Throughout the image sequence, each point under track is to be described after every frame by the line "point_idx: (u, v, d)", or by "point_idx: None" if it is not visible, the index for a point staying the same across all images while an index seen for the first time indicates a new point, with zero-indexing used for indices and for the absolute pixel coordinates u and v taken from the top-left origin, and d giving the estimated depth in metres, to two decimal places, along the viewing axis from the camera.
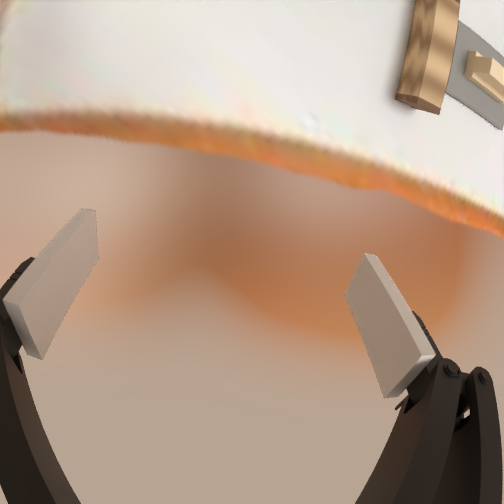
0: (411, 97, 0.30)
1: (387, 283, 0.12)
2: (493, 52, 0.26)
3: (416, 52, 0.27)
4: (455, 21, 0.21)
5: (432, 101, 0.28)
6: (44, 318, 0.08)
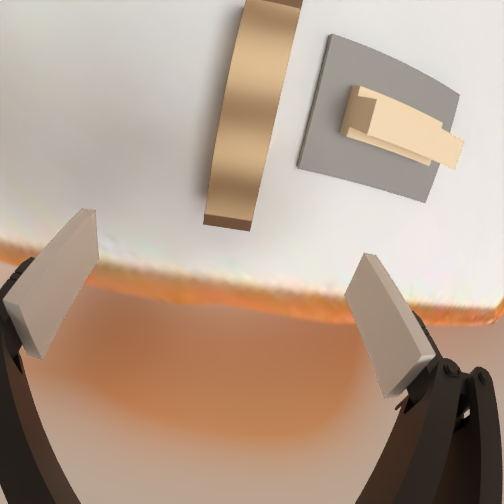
0: None
1: (387, 283, 0.12)
2: (411, 76, 0.22)
3: None
4: (284, 49, 0.17)
5: (232, 214, 0.24)
6: (44, 318, 0.08)
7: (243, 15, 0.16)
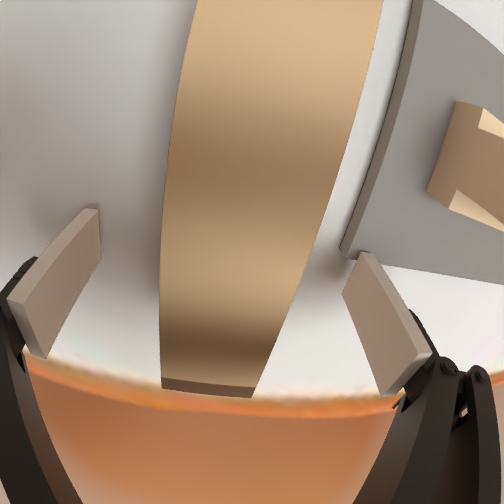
0: None
1: (384, 281, 0.12)
2: None
3: None
4: None
5: (217, 380, 0.11)
6: (48, 317, 0.08)
7: None
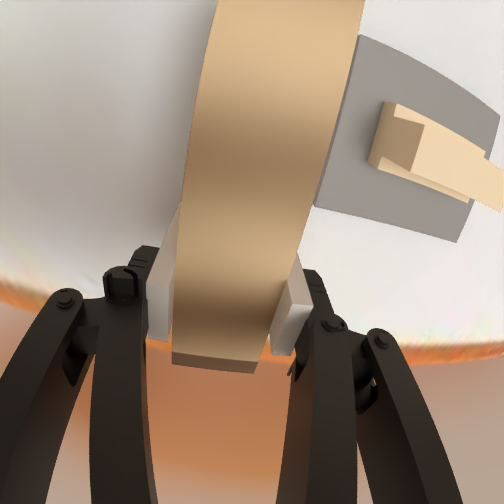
0: None
1: None
2: (452, 92, 0.17)
3: None
4: (348, 8, 0.06)
5: (223, 354, 0.13)
6: None
7: None
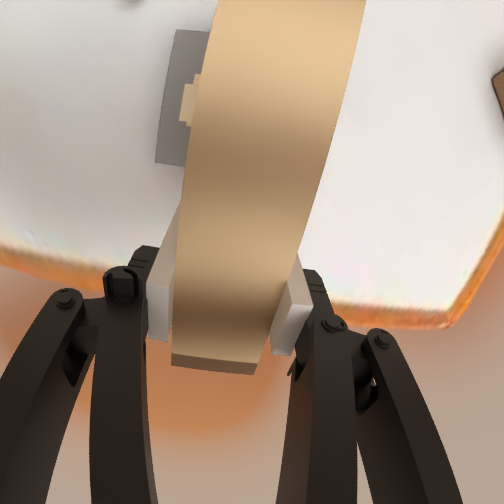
0: None
1: None
2: None
3: None
4: (348, 8, 0.06)
5: (223, 355, 0.13)
6: None
7: None
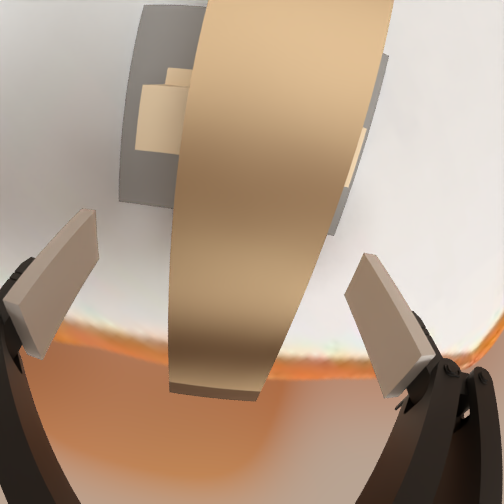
0: None
1: (387, 283, 0.12)
2: None
3: None
4: (375, 1, 0.04)
5: (223, 385, 0.12)
6: (44, 318, 0.08)
7: None
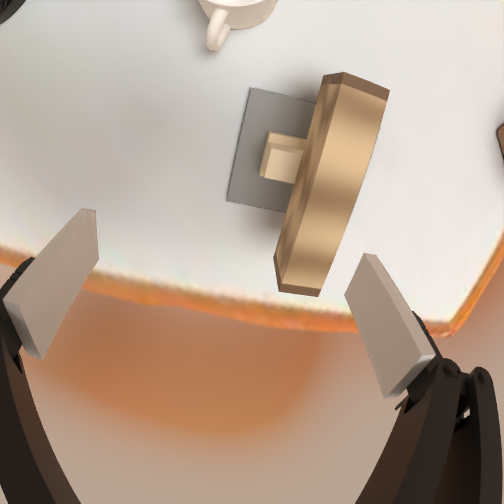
0: (278, 275, 0.29)
1: (387, 283, 0.12)
2: None
3: (296, 202, 0.26)
4: (369, 142, 0.20)
5: (306, 284, 0.27)
6: (44, 318, 0.08)
7: (337, 103, 0.19)
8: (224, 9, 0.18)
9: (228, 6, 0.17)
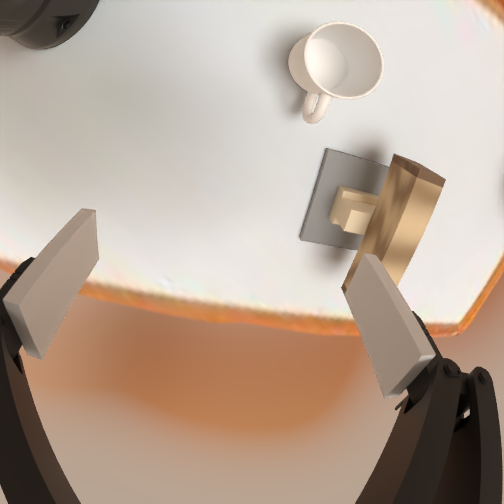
0: None
1: (387, 283, 0.12)
2: (383, 173, 0.38)
3: (369, 252, 0.34)
4: (427, 216, 0.28)
5: None
6: (44, 318, 0.08)
7: (412, 191, 0.27)
8: (331, 96, 0.25)
9: (337, 97, 0.24)
